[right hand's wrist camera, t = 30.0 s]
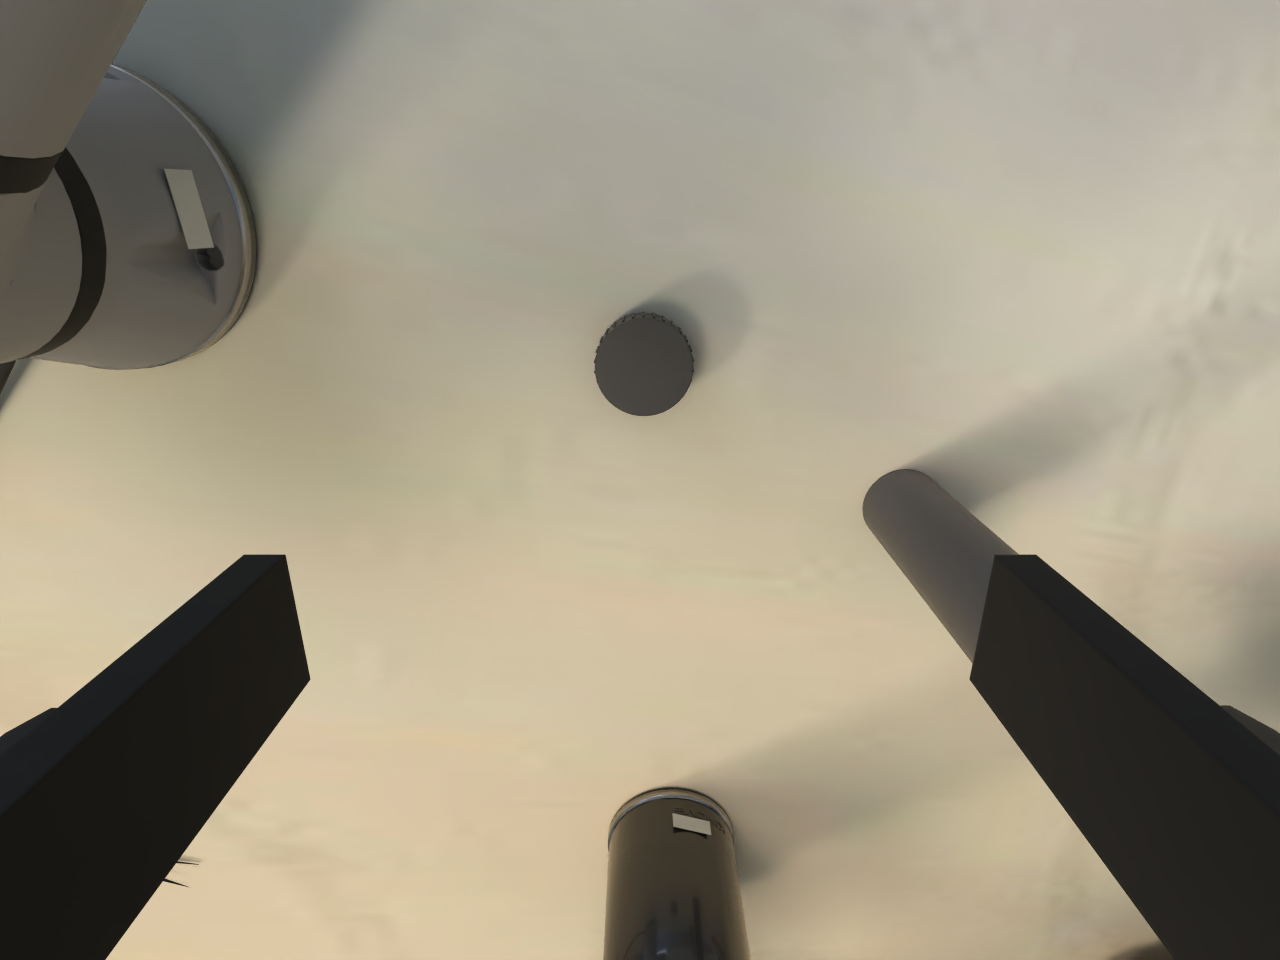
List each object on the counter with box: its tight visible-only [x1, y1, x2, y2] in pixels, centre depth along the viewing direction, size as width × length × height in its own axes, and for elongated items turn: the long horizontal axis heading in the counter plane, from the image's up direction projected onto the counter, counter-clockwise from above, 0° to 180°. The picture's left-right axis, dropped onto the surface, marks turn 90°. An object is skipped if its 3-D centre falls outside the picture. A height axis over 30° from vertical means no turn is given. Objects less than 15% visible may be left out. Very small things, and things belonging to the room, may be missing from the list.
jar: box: [863, 470, 1019, 663], centre depth 34 cm, size 5×5×18 cm
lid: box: [594, 312, 694, 416], centre depth 38 cm, size 6×6×2 cm
